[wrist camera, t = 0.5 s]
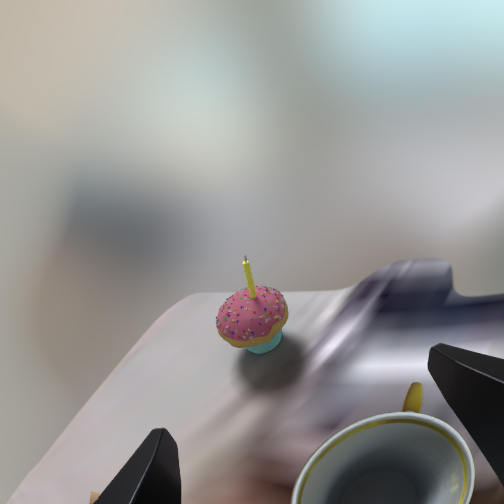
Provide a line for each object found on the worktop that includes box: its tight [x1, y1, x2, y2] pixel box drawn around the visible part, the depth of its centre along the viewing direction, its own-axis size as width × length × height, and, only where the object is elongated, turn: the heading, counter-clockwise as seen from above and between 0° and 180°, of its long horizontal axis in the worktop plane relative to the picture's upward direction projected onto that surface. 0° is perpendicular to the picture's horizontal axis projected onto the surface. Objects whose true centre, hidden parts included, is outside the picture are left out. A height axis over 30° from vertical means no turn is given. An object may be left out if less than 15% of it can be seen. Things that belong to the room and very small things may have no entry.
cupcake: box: [216, 255, 288, 354], centre depth 32 cm, size 9×8×12 cm
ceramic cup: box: [290, 382, 475, 504], centre depth 12 cm, size 13×10×10 cm
